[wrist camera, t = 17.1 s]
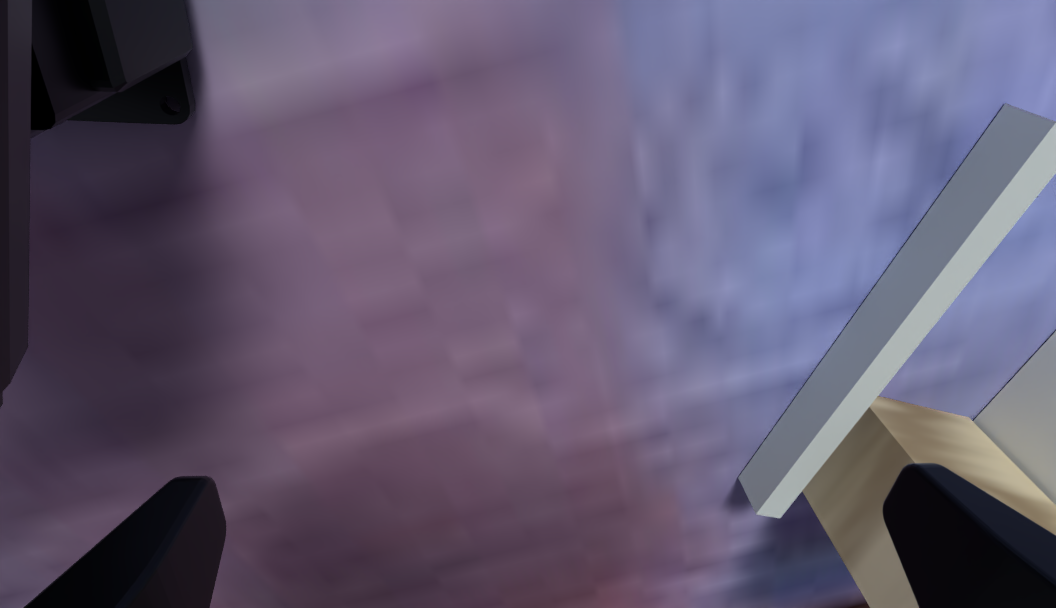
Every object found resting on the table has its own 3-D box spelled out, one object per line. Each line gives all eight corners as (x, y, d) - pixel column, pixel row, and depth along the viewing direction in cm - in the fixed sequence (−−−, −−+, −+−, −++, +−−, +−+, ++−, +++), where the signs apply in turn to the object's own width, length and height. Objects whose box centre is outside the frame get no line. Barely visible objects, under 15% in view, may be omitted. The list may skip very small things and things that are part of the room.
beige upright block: (792, 474, 28) (953, 751, 19) (856, 390, 26) (1077, 662, 17) (898, 494, 30) (1096, 761, 20) (968, 417, 27) (1229, 680, 18)
